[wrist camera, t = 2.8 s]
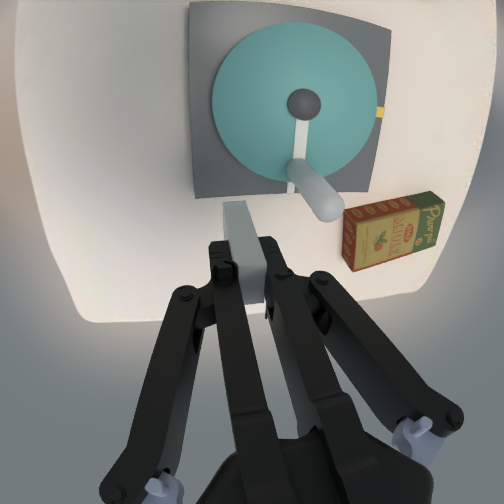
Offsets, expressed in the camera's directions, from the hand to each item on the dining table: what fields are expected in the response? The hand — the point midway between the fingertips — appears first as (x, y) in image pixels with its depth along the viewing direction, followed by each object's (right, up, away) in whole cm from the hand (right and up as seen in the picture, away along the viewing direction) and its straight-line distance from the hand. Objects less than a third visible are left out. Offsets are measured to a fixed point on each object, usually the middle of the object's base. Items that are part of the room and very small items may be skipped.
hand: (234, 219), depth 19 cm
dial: (+6, +12, +4) cm, 14 cm away
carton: (+21, +2, +19) cm, 29 cm away
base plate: (+5, +13, +6) cm, 15 cm away
